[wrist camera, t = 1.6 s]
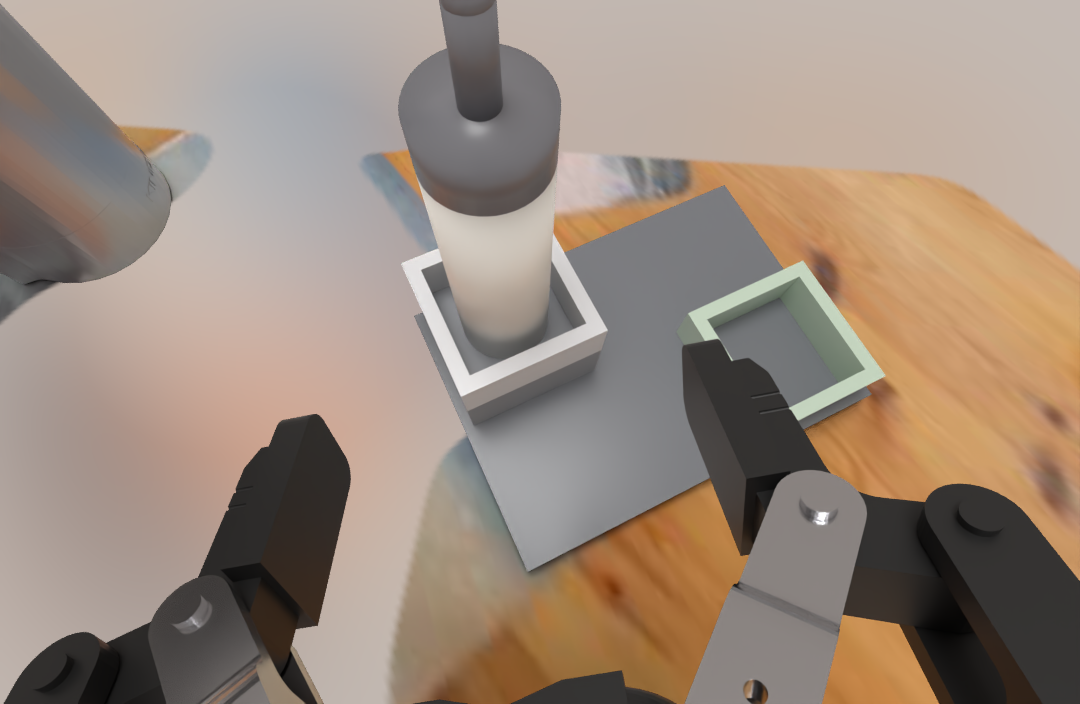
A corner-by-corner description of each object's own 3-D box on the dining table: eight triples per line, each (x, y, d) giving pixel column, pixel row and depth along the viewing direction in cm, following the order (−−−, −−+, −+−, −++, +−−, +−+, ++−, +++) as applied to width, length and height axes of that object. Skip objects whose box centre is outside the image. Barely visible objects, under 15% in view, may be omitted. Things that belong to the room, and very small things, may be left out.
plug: (482, 372, 27) (403, 75, 10) (448, 299, 28) (329, -68, 12) (562, 337, 28) (606, 4, 11) (525, 267, 29) (515, -125, 12)
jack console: (527, 571, 28) (526, 574, 22) (417, 323, 32) (390, 267, 26) (861, 399, 31) (942, 360, 25) (719, 195, 35) (758, 118, 29)
